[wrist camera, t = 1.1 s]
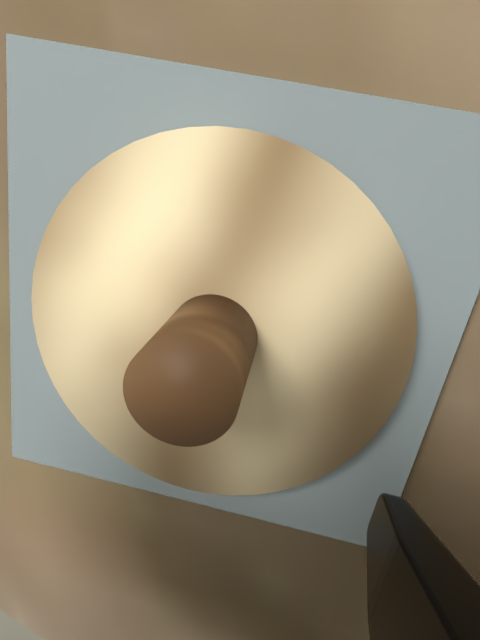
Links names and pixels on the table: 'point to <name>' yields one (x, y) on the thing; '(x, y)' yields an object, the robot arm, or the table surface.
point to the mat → (288, 124)
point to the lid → (224, 310)
